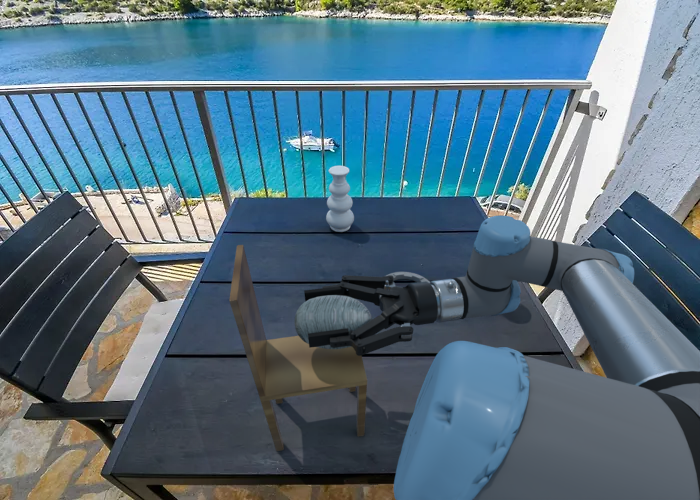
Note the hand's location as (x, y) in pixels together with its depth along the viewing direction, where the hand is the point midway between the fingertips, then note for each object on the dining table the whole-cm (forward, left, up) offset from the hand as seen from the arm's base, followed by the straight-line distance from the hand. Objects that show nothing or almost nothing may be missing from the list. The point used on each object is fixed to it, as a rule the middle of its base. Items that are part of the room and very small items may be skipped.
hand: (306, 317), depth 60 cm
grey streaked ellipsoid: (0, -5, -6) cm, 8 cm away
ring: (+33, -31, -33) cm, 56 cm away
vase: (+73, -16, -33) cm, 82 cm away
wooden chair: (-1, 0, -33) cm, 33 cm away
